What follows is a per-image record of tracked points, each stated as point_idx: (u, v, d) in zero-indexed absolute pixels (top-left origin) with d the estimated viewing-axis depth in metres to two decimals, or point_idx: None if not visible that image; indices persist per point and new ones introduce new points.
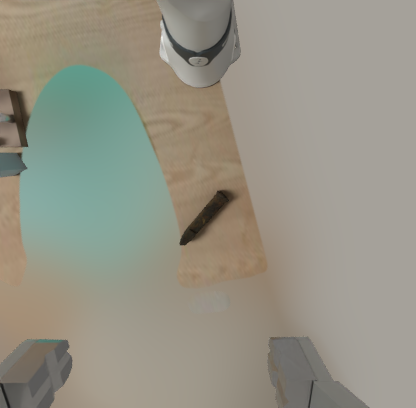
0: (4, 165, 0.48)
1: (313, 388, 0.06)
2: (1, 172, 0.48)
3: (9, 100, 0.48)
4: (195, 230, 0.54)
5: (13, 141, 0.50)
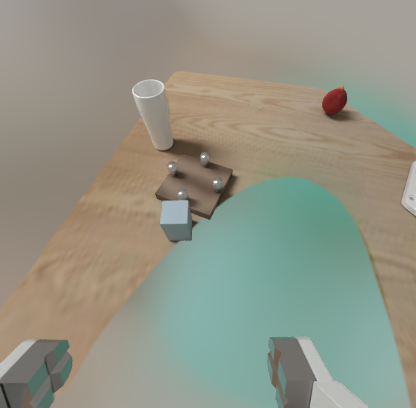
0: (188, 223, 0.36)
1: (313, 388, 0.06)
2: (180, 228, 0.35)
3: (227, 177, 0.45)
4: None
5: (204, 207, 0.41)
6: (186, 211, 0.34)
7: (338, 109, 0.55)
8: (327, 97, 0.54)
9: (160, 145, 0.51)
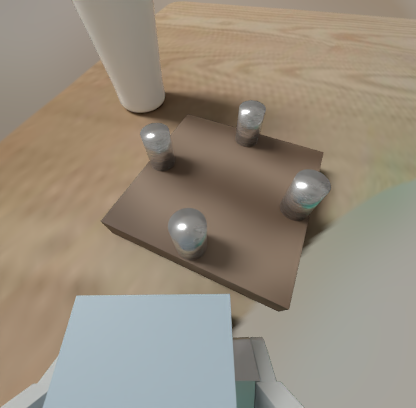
0: None
1: (256, 389, 0.06)
2: None
3: None
4: None
5: (265, 275, 0.12)
6: (226, 395, 0.05)
7: None
8: None
9: (134, 99, 0.21)
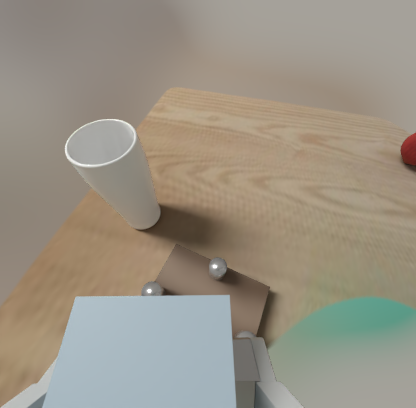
0: None
1: (256, 389, 0.06)
2: None
3: (261, 306, 0.23)
4: None
5: None
6: (226, 397, 0.05)
7: None
8: None
9: (137, 225, 0.29)
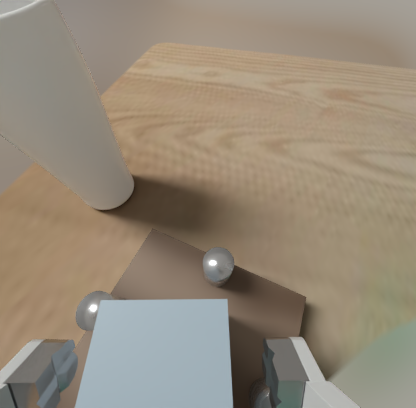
0: None
1: (305, 388, 0.06)
2: None
3: (295, 332, 0.13)
4: None
5: None
6: (224, 380, 0.06)
7: None
8: None
9: (94, 202, 0.19)
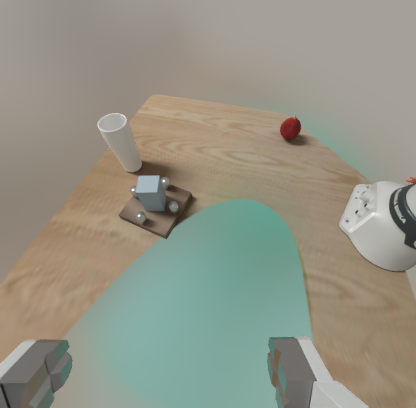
0: (160, 194, 0.44)
1: (313, 388, 0.06)
2: (153, 197, 0.44)
3: (185, 199, 0.50)
4: None
5: (161, 228, 0.46)
6: (157, 183, 0.43)
7: (293, 136, 0.60)
8: (283, 125, 0.60)
9: (129, 168, 0.56)
